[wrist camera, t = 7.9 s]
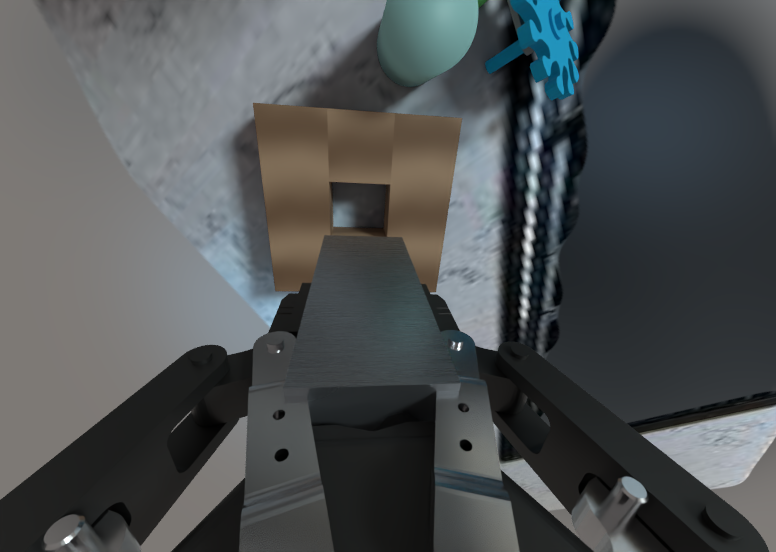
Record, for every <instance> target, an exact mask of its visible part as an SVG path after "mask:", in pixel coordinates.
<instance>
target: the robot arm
mask: <svg viewBox="0 0 776 552" xmlns="http://www.w3.org/2000/svg"><path fill="white" fill-rule="evenodd" d="M421 285H422V288H423V290H424V293H425V295H426V298H427V300H428V303H429V305H430V308H431V310H432V313H433V315H434V318H435V320H436V322H437V325H438V327H439V330H440V332H441V335H442V337H443V340H444V342H445V345H446V347H447V350H448V352H449V355H450V357H451V360H452V362H453V365H454V367H455V370H456V372H457V375H458V377H459V380H460V382H461V385H460V390H459V391H437V392H436V398H435V403H434V409H433V421H419V422H405V423H401V424H398V425H394V426H391V427H388V428H384V429H381V430H377V431H367V430H362V429H356V428H351V427H346V426H341V425H325V426H312V424H311V418H310V412H309V406H308V400H307V396H284V393H283V386H284V383H285V379H286V375H287V372H288V368H289V364H290V361H291V357H292V353H293V349H294V346H295V342H296V338H297V335H298V331H299V327H300V324H301V320H302V316H303V312H304V309H305V305H306V301H307V298H308V294H309V290H310V287H311V283H302V284H301V287H300V290H299V293H298V294H288V295H287V296H286V297H285V298H283V299H282V301H281V303H280V306H279V308H278V310H277V313H276V315H275V318H274V320H273V323H272V325H271V327H270V330H269V332H268V333H267V334H265V335H263V336H261V337H260V338H258V340H256V342H255V343H254V346H253V349H250V350H248V351H244V352H240V353H236V354H231V355H227V352H226V350H225V349H224V348H223V347H221V346H218V345H205V346H201V347H197V348H195V349H192V350H190V351H188V352H186V353H185V354H184V355H182V356H181V357H180V358H179V359H177V360H176V361H175V362H174V363H172V364H171V365H170V366H169V367H167V368H166V369H165V370H163V371H162V372H161V373H160V374H158V375H157V376H156V377H155V378H153V379H152V380H151V381H150V382H149V383H147V384H146V385H145V386H143V387H142V388H141V389H140V390H138V391H137V392H136V393H134V394H133V395H132V396H131V397H130V398H128V399H127V400H126V401H125V402H123V403H122V404H121V405H119V406H118V407H117V408H116V409H114V410H113V411H112V412H111V413H109V414H108V415H107V416H106V417H104V418H103V419H102V420H100V421H99V422H98V423H97V424H95V425H94V426H93V427H92V428H90V429H89V430H88V431H87V432H85V433H84V434H83V435H82V436H80V437H79V438H78V439H77V440H75V441H74V442H73V443H71V444H70V445H69V446H68V447H66V448H65V449H64V450H63V451H61V452H60V453H59V454H58V455H56V456H55V457H54V458H53V459H51V460H50V461H49V462H48V463H46V464H45V465H44V466H43V467H41V468H40V469H39V470H37V471H36V472H35V473H34V474H32V475H31V476H30V477H29V478H28V479H26V480H25V481H24V482H22V483H21V484H20V485H19V486H17V487H16V488H15V489H14V490H12V491H11V492H10V493H9V494H7V495H6V496H5V497H3V498H2V499H1V500H0V552H141V547H140V546H141V545H142V544H143V542H144V541H145V540H146V538H147V537H148V536H149V535H150V533H151V532H152V531H153V529H154V528H155V527H156V526H157V524H158V523H159V522H160V521H161V519H162V518H163V517H164V515H165V514H166V513H167V512H168V510H169V509H170V508H171V507H172V505H173V504H174V503H175V501H176V500H177V499H178V497H179V496H180V495H181V494H182V492H183V491H184V490H185V489H186V487H187V486H188V485H189V484H190V482H191V481H192V480H193V478H194V477H195V476H196V474H197V473H198V472H199V471H200V469H201V468H202V467H203V466H204V464H205V463H206V462H207V461H208V459H209V458H210V457H211V455H212V454H213V453H214V452H215V450H216V449H217V448H218V446H219V445H220V444H221V443H222V441H223V440H224V439H225V438H226V436H227V435H228V434H229V433H230V431H231V430H232V429H233V427H234V426H235V425H236V424H237V422H238V420H239V418H241V417H245V416H248V420H247V445H246V446H247V447H246V470H245V478H244V479H243V480H242V481H241V482H240V483H239V484H238V485H237V486H236V487H235V488H234V489H233V490H232V491H231V492H230V493H229V494H228V495H227V496H226V497H225V498H224V499H223V500H222V501H221V502H220V503H219V504H218V505H217V506H216V507H215V508H214V509H213V510H212V511H211V512H210V513H209V514H208V515H207V516H206V517H205V518H204V519H203V520H202V521H201V522H200V523H199V524H198V525H197V526H196V528H194V530H192V531H191V532H190V533H189V534H188V535H187V536H186V538H184V539H183V540H182V541H181V542H180V543H179V544H178V545H177V546H176V547H175V548H174V549H173V550H172V551H171V552H769V550H768V547H767V545H766V543H765V541H764V540H763V538H762V537H761V535H760V534H759V533H758V531H757V530H756V529H755V528H754V526H752V524H751V523H749V521H748V520H747V519H746V518H745V517H743V515H741V514H740V513H739V512H738V511H737V510H735V509H734V508H733V507H732V506H730V505H729V504H728V503H726V502H725V501H724V500H723V499H721V498H720V497H719V496H718V495H716V494H715V493H714V492H713V491H711V490H710V489H709V488H708V487H706V486H705V485H704V484H702V483H701V482H700V481H699V480H697V479H696V478H695V477H694V476H692V475H691V474H690V473H689V472H687V471H686V470H685V469H683V468H682V467H681V466H680V465H678V464H677V463H676V462H675V461H673V460H672V459H671V458H670V457H668V456H667V455H666V454H664V453H663V452H662V451H661V450H659V449H658V448H657V447H656V446H654V445H653V444H652V443H651V442H649V441H648V440H647V439H645V438H644V437H643V436H642V435H640V434H639V433H638V432H637V431H635V430H634V429H633V428H632V427H630V426H629V425H628V424H626V423H625V422H624V421H623V420H621V419H620V418H619V417H617V416H616V415H615V414H614V413H612V412H611V411H610V410H609V409H607V408H606V407H605V406H603V405H602V404H601V403H600V402H598V401H597V400H596V399H595V398H593V397H592V396H591V395H590V394H588V393H587V392H586V391H585V390H583V389H582V388H581V387H580V386H578V385H577V384H576V383H574V382H573V381H572V380H571V379H569V378H568V377H567V376H566V375H564V374H563V373H562V372H561V371H559V370H558V369H557V368H555V367H554V366H553V365H551V364H550V363H549V362H548V361H547V360H545V359H544V358H543V357H542V356H540V355H539V354H538V353H536V352H535V351H534V350H533V349H531V348H530V347H528V346H526V345H524V344H521V343H517V342H505V343H502V344H501V345H500V346H499V348H498V351H493V350H489V349H484V348H480V347H477V346H475V343H474V341H473V339H472V338H471V337H470V336H469V335H467V334H465V333H463V332H460V330H459V328H458V326H457V324H456V322H455V320H454V318H453V316H452V314H451V312H450V310H449V309H448V306H447V304H446V302H445V300H443V299H442V298H441V297H440V296H438V295H433V294H430V292H429V290H428V287H427V285H426V284H421ZM527 397H528V398H529V399H530V400H531V401H532V402H534V403H535V404H536V405H537V406H538V407H539V408H540V409H541V410H542V411H543V412H544V413H545V414H546V416H547V417H548V419H549V422H550V427H549V426H548V425H547V424H546V423H545V422H544V421H543V420H542V419H541V418H540V417H539V416H538V415H537V414H536V413H535V412H534V411H533V410H532V409H531V408H530V407H529V406H528V405H527V404H526V403H525V402H526V399H527ZM190 411H191V413H190V414H189V415H188V416H187V417H186V418H185V419H184V420H183V421H182V422H181V423H180V424H179V425H178V426H177V428H175V429H174V431H173V432H172V433H171V431H172V430H173V428H174V427H175V426H176V425H177V424H178V423H179V422H180V421H181V420H182V419H183V418H184V417H185V416H186V415H187V414H188V413H189V412H190ZM493 423H494V424H495V425H496V426H497V427H498V429H499V430H500V431H501V432H502V433H503V434H504V436H505V437H506V438H507V439H508V440H509V442H510V443H511V444H512V445H513V446H514V448H515V449H516V450H517V451H518V452H519V454H520V455H521V456H522V457H523V458H524V459H525V461H526V462H527V463H528V464H529V465H530V467H531V468H532V469H533V470H534V471H535V473H536V474H537V475H538V476H539V477H540V478H541V480H542V481H543V482H544V483H545V484H546V486H547V487H548V488H549V489H550V490H551V492H552V493H553V494H554V495H555V496H556V498H557V499H558V500H559V501H560V502H561V503H562V505H563V506H564V507H565V508H566V509H567V511H568V512H569V513H570V514H571V515H572V522H573V526H574V528H575V531H576V533H577V534H578V536H579V538H578V537H577V536H576V535H575V534H574V533H572V532H571V531H570V530H569V529H568V528H567V527H566V526H564V525H563V524H562V523H561V522H560V521H559V520H557V519H556V518H555V517H554V516H553V515H552V514H551V513H550V512H548V511H547V510H546V509H545V508H544V507H543V506H542V505H540V504H539V503H538V502H537V501H536V500H535V499H534V498H532V497H531V496H530V495H529V494H528V493H527V492H526V491H524V490H523V489H522V488H521V487H520V486H519V485H518V484H516V483H515V482H514V481H513V480H512V479H511V478H510V477H508V476H507V475H506V474H505V473H504V472H503V471H502V470H500V464H499V457H498V451H497V445H496V439H495V433H494V427H493ZM170 433H171V434H170Z"/></svg>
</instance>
